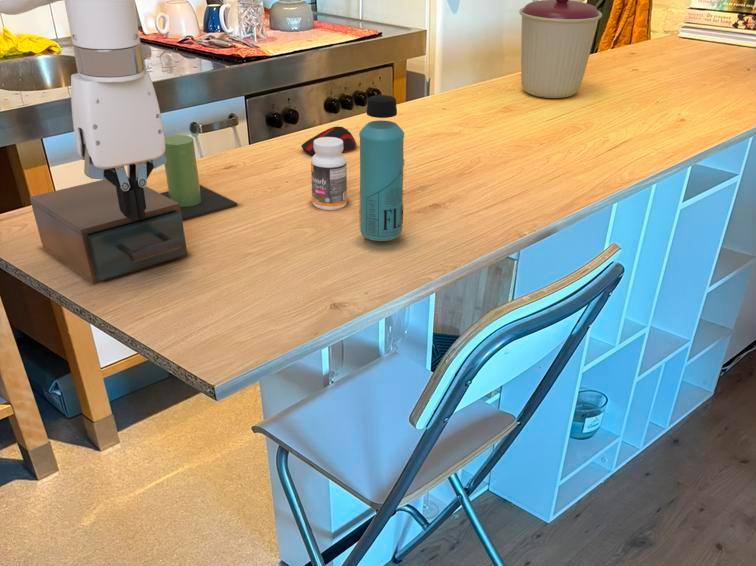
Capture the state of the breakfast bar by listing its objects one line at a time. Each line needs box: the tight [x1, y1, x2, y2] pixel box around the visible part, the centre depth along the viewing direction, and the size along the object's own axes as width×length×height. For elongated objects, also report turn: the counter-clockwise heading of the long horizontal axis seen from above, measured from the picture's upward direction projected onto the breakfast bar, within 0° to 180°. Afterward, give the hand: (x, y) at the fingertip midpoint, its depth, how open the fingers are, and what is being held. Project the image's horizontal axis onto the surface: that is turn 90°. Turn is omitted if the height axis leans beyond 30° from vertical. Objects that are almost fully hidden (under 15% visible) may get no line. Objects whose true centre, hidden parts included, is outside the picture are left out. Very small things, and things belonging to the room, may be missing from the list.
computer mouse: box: [300, 125, 357, 157], centre depth 153 cm, size 6×11×4 cm, turn 133°
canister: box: [518, 0, 603, 99], centre depth 183 cm, size 18×18×21 cm
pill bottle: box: [310, 137, 348, 211], centre depth 130 cm, size 6×6×10 cm
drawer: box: [87, 211, 188, 280], centre depth 113 cm, size 19×13×6 cm
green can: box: [163, 134, 201, 207], centre depth 129 cm, size 5×5×10 cm
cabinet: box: [29, 176, 188, 285], centre depth 115 cm, size 16×15×8 cm
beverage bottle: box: [358, 94, 406, 242], centre depth 115 cm, size 6×7×20 cm
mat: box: [159, 184, 238, 222], centre depth 132 cm, size 12×12×1 cm
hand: (134, 216), depth 106 cm, fingers closed
